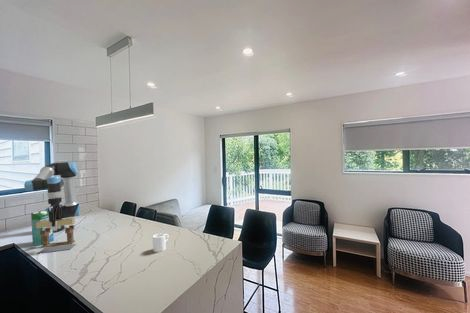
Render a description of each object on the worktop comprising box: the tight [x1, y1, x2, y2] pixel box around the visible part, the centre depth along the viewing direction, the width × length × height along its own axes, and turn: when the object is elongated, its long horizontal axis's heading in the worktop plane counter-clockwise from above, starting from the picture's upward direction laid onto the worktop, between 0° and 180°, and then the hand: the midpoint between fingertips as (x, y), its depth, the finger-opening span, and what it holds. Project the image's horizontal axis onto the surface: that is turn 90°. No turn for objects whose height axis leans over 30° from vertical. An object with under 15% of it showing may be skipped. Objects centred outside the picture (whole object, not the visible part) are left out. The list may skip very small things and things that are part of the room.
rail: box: [36, 217, 76, 228], centre depth 155 cm, size 22×4×4 cm, turn 105°
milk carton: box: [30, 209, 55, 246], centre depth 170 cm, size 9×9×25 cm
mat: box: [36, 243, 77, 255], centre depth 155 cm, size 9×20×1 cm, turn 105°
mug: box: [152, 232, 170, 253], centre depth 148 cm, size 8×12×10 cm, turn 146°
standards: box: [40, 224, 76, 249], centre depth 164 cm, size 7×20×13 cm, turn 105°
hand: (56, 229), depth 155 cm, fingers closed on rail, 4 cm apart
